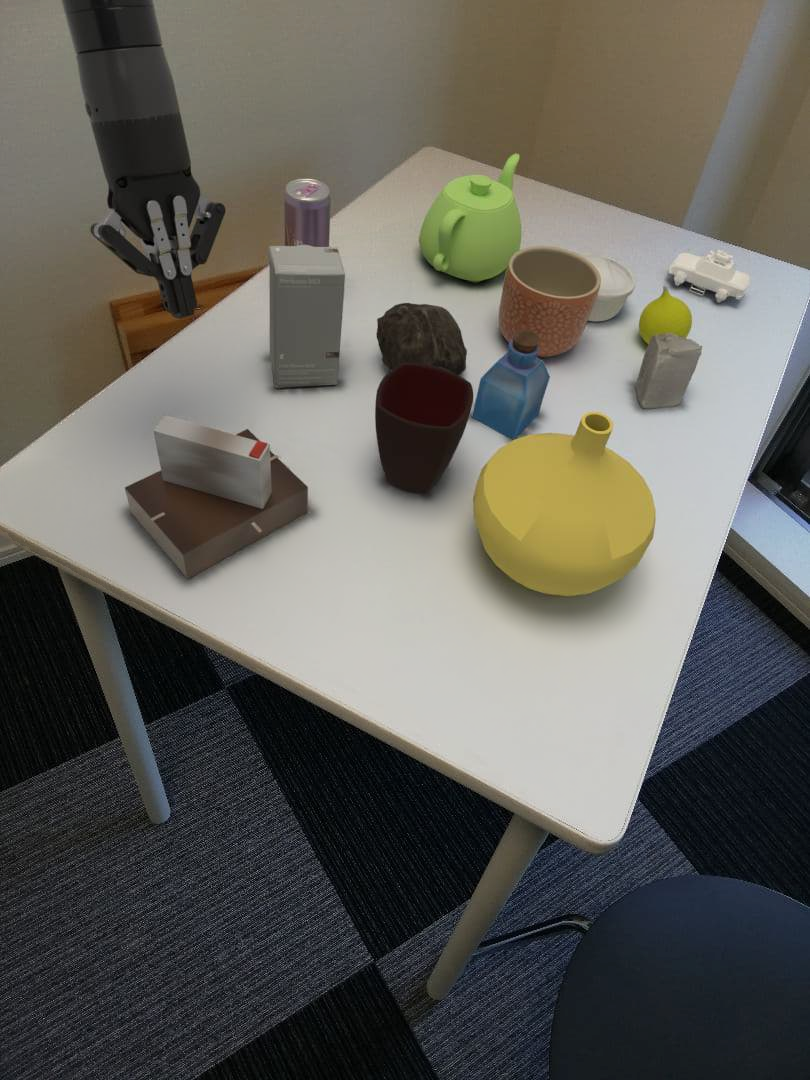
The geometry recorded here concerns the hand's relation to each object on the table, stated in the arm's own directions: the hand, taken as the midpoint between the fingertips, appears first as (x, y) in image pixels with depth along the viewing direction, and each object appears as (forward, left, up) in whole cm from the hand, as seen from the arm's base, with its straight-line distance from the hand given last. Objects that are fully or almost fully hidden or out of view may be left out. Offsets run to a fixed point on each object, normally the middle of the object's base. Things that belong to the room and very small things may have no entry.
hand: (183, 315), depth 75 cm
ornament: (+65, +15, -18) cm, 69 cm away
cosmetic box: (+14, +13, -18) cm, 26 cm away
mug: (+25, -5, -18) cm, 31 cm away
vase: (+36, -20, -18) cm, 45 cm away
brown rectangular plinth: (+2, -10, -18) cm, 21 cm away
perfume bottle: (+38, +2, -18) cm, 42 cm away
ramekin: (+58, +25, -18) cm, 65 cm away
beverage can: (+16, +30, -18) cm, 39 cm away
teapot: (+43, +38, -18) cm, 60 cm away
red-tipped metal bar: (+2, -10, -14) cm, 17 cm away
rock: (+29, +12, -18) cm, 36 cm away
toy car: (+78, +28, -18) cm, 85 cm away
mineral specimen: (+60, +5, -18) cm, 62 cm away
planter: (+47, +17, -18) cm, 53 cm away
